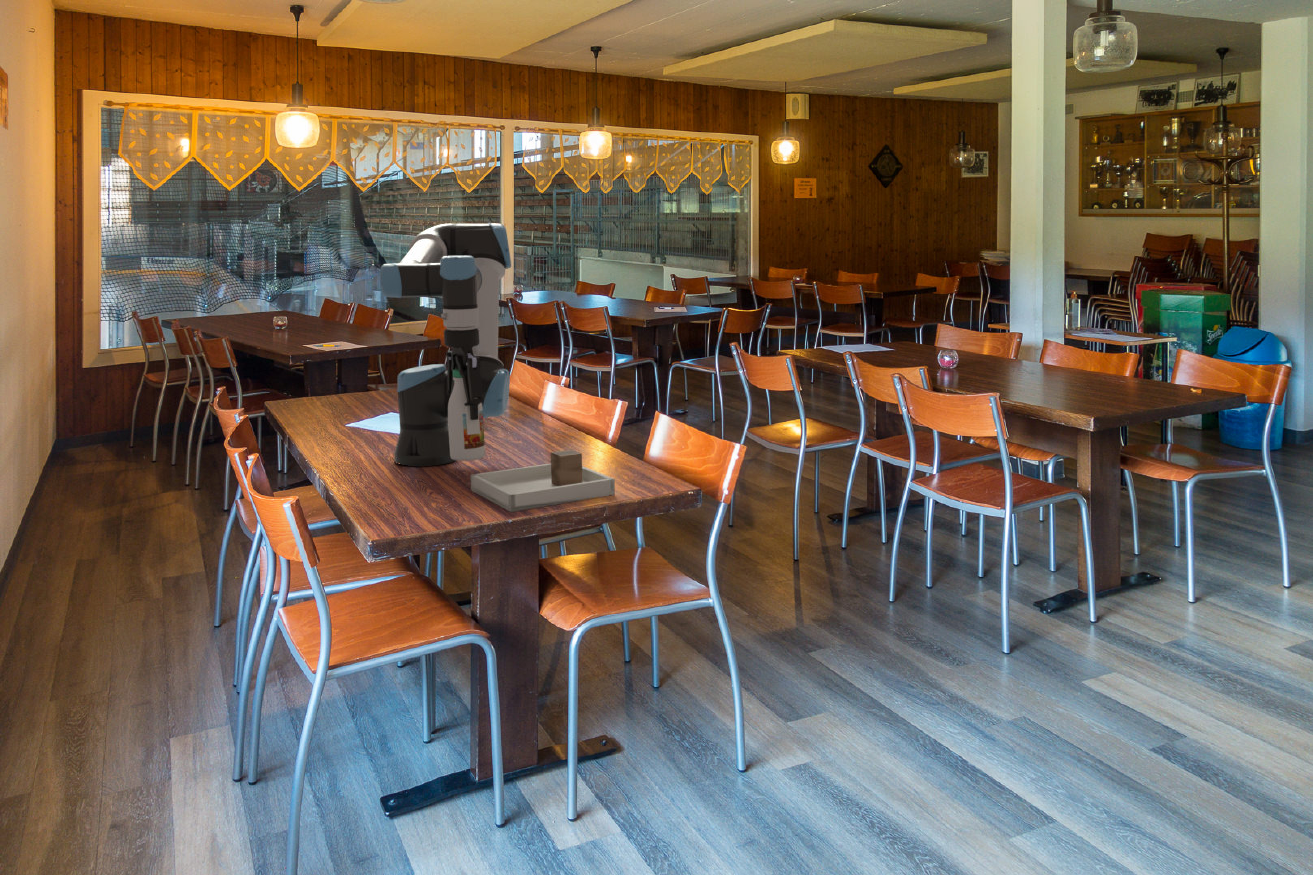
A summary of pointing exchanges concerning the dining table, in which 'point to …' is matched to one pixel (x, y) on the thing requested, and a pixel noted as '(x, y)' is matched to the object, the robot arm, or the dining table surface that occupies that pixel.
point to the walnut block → (566, 467)
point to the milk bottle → (463, 425)
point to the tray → (537, 487)
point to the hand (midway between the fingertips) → (466, 430)
